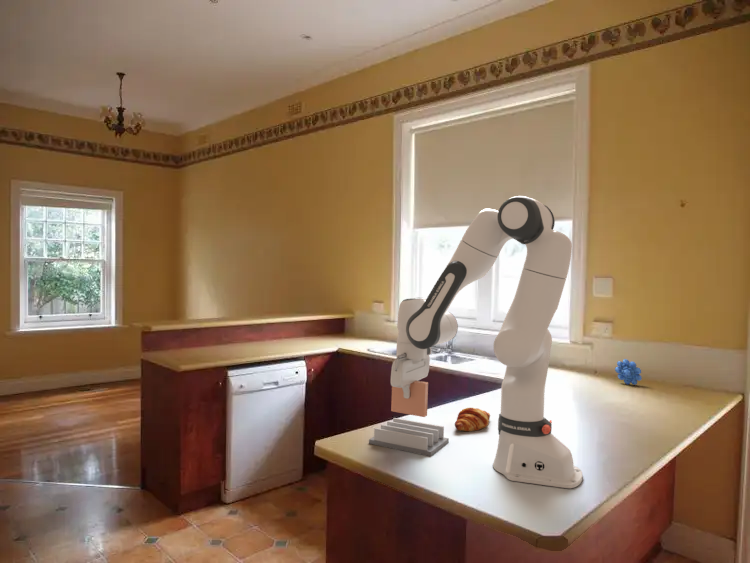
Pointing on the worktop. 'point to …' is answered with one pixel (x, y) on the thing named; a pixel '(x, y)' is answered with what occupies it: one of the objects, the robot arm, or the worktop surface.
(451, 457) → the worktop surface
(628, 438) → the worktop surface
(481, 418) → the croissant
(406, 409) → the plate tile
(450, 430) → the worktop surface
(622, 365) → the blue knobbly flower
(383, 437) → the dish rack
